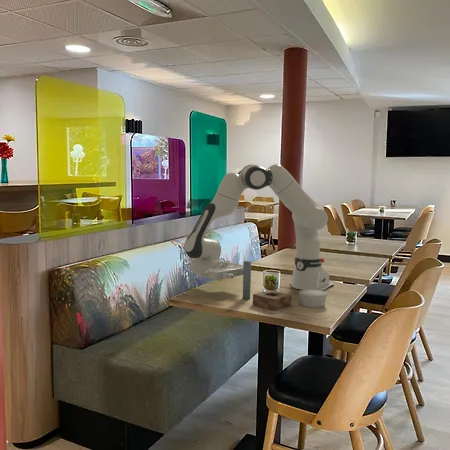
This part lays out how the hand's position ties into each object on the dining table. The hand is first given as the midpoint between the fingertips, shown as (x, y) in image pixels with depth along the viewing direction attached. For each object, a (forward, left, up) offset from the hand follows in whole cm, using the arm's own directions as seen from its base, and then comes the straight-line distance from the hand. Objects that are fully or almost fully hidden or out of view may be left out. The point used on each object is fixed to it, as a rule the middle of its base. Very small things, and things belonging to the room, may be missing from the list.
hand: (239, 275), depth 198 cm
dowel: (0, +4, -9) cm, 10 cm away
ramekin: (-14, +28, -10) cm, 33 cm away
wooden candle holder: (0, +18, -9) cm, 21 cm away
